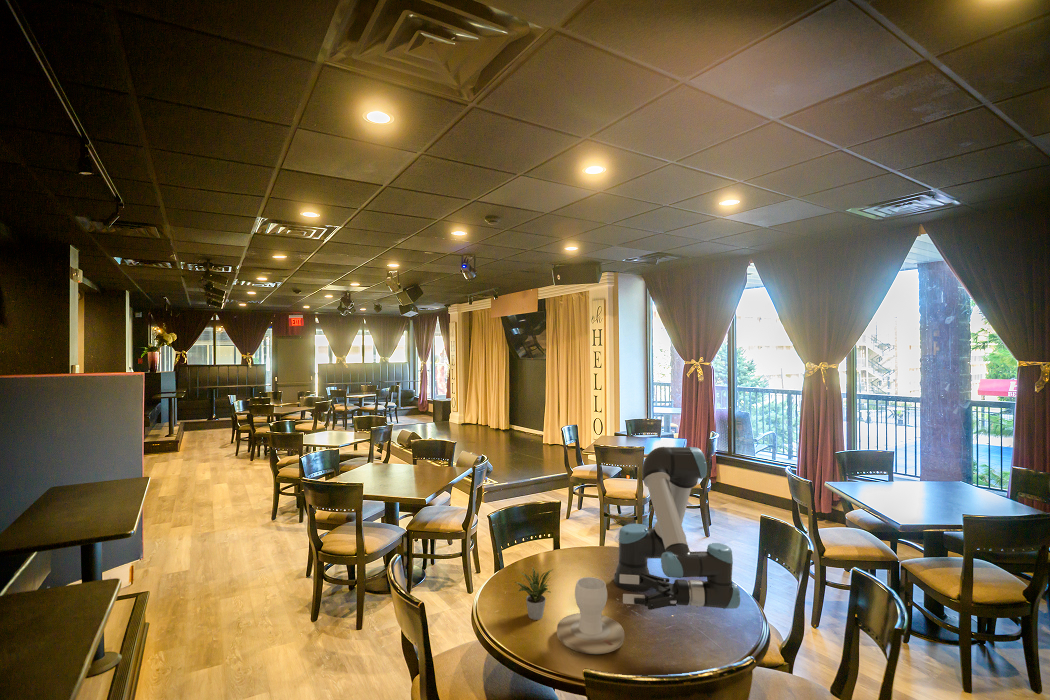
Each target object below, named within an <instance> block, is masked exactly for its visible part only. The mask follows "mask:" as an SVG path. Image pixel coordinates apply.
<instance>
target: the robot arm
mask: <svg viewBox="0 0 1050 700" xmlns="http://www.w3.org/2000/svg"><path fill="white" fill-rule="evenodd" d="M707 473H708V465H707V460H706V457H705V454H704V452H703V451H702V450H701V449H700V448H699V447H694V446H693V447H692V446H686V447H685V446H678V447H677V446H670V447H669V446H660V447H656V448H654V449H652V450H651V451H650V452H649V453H647V455H646V456H645V458H644V460H643V463H642V467H641V477H642V482H643V484H644V486H645V487H646V488H648V491H649V492H648V493H649V496H650V500H651V504H652V508H653V511H654V514H655V518H656V522H655V523H654V527H653V528H648V526H647V525H645V524H643V523H629V524H625V525H624V526H622V527H621V528H620V530H619V532H618V533H619V534H618V564H617V566H616V567H617V568H616V571H615V573H614V576H613V582H614V584H615V586H616V587H618V588H620V589H623V590H625V591H629V592H645V591H648V590H649V589H651V588H652V589H654V590H655V593H652V594H650V595H648V594H645V595H644V594H633V593H632V594H631V593H623V594H622V603H623V604H628V605H638V606H639V605H640V606H642V605H643V606H644V607H647V610H648V611H649V610H656V609H661V608H667V607H677V606H688V605H689V606H692V607H696V608H699V607H705V608H718V609H723V610H726V609H730V610H733V609H738V608H739V607H740V604H741V592H740V588H739V586H738V584H737V583H735V582H733V580H732V578H733V564H734V563H733V559H734V558H733V550H732V548H731V547H730V546H728V545H726V544H725V543H719V542H712V543H709V544H708V545H707V549H706V550H705V551H690V548H689V544H688V542H687V536H686V534H685V531H684V529H683V526H682V525H683V522H684V518H685V513H686V510H687V506H688V503H689V498H690V495H691V491H692V489H694V488H695V487H697V485H698V481H699V479H700V480H702V479H704V478H706V477H707ZM649 559H660V564H661V570H662V572H663V574H664V576H665V577H661V576H658V575H654V574H650V570H649V567H648V560H649ZM670 578H673V579H675V578H676V579H675V580H674V582H673V583H672V582H671V583H670ZM681 578H706V580H697V579H696V580H694V579H688V580H686V579H681Z"/></svg>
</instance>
